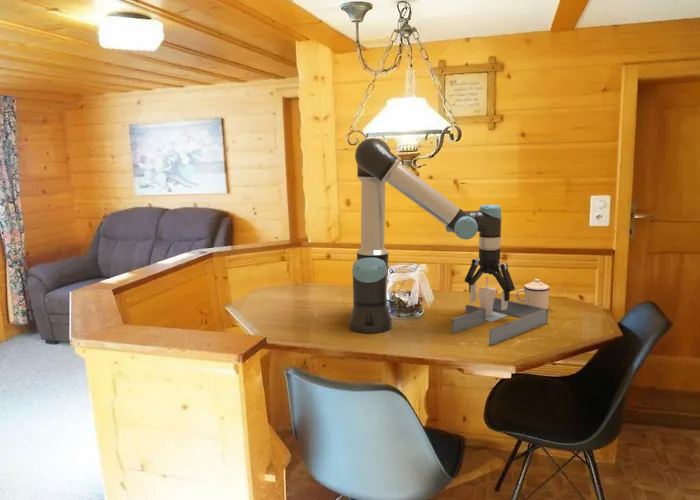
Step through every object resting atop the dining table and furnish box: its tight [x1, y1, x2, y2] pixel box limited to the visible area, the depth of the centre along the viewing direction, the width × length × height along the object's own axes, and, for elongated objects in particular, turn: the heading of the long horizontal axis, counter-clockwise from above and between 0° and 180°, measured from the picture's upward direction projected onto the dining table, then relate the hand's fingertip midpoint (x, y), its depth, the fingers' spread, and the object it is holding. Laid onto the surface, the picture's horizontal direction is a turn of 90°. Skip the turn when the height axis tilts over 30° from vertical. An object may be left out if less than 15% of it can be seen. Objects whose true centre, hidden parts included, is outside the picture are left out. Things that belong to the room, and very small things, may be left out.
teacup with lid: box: [515, 278, 551, 310], centre depth 207 cm, size 12×9×12 cm
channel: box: [451, 296, 549, 346], centre depth 190 cm, size 32×23×5 cm
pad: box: [485, 310, 509, 323], centre depth 201 cm, size 10×10×1 cm
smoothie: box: [477, 276, 497, 316], centre depth 200 cm, size 6×6×14 cm
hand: (488, 305), depth 200 cm, fingers open, 13 cm apart
